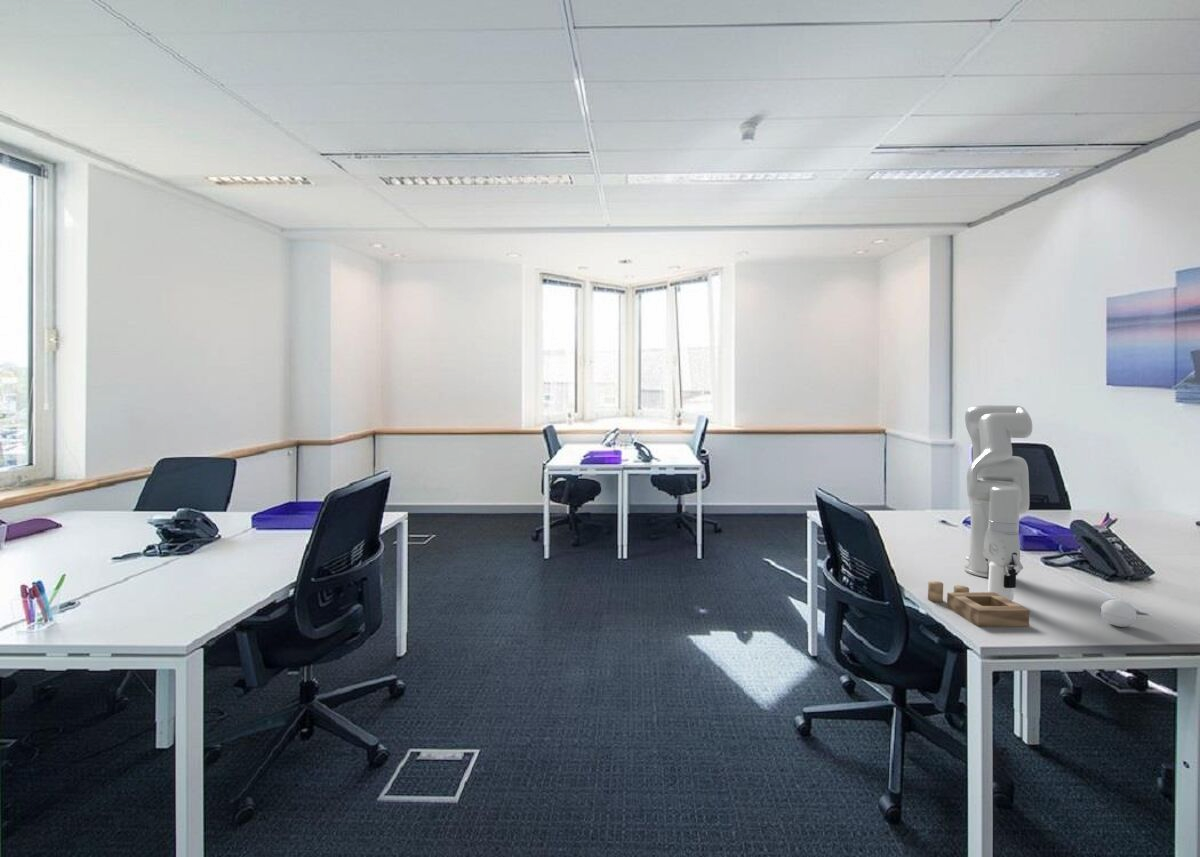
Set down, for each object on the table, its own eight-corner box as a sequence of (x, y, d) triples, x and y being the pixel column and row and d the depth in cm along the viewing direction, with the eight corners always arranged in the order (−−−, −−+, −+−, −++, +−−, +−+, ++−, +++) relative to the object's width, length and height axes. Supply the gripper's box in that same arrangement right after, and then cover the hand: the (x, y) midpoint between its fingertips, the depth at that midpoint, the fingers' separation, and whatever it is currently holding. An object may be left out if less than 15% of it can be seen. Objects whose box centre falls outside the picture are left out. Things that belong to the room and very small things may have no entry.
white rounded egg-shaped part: (1117, 620, 157) (1118, 594, 157) (1144, 631, 150) (1145, 604, 149) (1083, 620, 157) (1084, 595, 156) (1108, 632, 149) (1109, 605, 149)
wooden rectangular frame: (947, 607, 168) (947, 592, 167) (993, 607, 168) (994, 592, 167) (977, 626, 154) (978, 610, 154) (1028, 626, 154) (1029, 610, 153)
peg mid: (925, 597, 176) (925, 580, 175) (937, 597, 176) (938, 580, 175) (932, 602, 172) (933, 585, 171) (945, 602, 172) (946, 585, 171)
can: (985, 597, 172) (987, 560, 171) (990, 592, 177) (991, 555, 176) (1011, 603, 168) (1012, 564, 167) (1015, 597, 172) (1017, 559, 171)
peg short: (950, 597, 176) (951, 585, 175) (963, 597, 176) (963, 585, 175) (958, 602, 172) (959, 589, 171) (971, 602, 172) (972, 589, 171)
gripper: (972, 519, 179) (970, 573, 181) (1011, 534, 162) (1009, 594, 163) (996, 519, 179) (993, 573, 180) (1037, 534, 162) (1034, 593, 163)
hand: (1001, 582), depth 172 cm, fingers closed on can, 6 cm apart
